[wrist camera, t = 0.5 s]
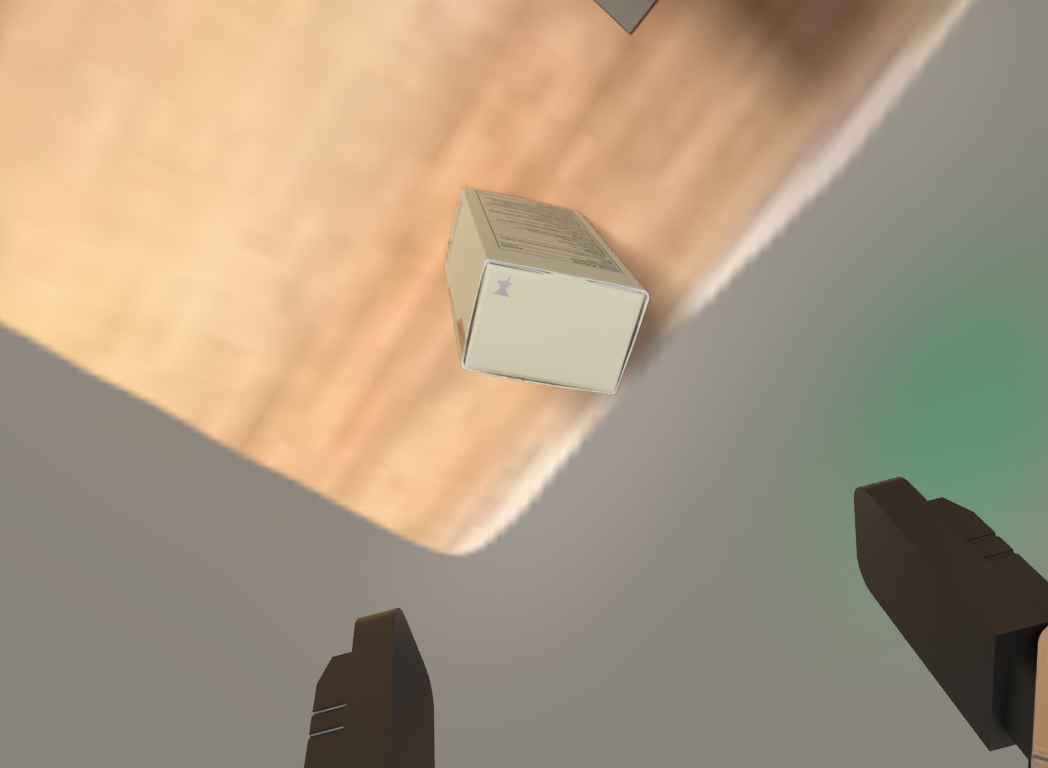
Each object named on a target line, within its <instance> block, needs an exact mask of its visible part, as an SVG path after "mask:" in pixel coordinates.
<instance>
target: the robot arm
mask: <svg viewBox="0 0 1048 768" xmlns="http://www.w3.org/2000/svg"><path fill="white" fill-rule="evenodd" d="M854 510H855V528H856V545H857V559H858V564H859V568H860V571H861V574H862V577H863V579H864V581H865V583H866V585H867V587H868V589H869V591H870V592H871V593H872V595H873V596H874V598H875V599H876V600H877V602H878V603H879V604H880V606H881V607H882V608H883V610H884V611H885V612H886V613H887V615H888V616H889V618H890V619H891V620H892V622H893V623H894V624H895V626H896V627H897V628H898V630H899V631H900V632H901V634H902V635H903V636H904V638H905V639H906V640H907V641H908V643H909V644H910V645H911V647H912V648H913V649H914V651H915V652H916V654H917V655H918V656H919V658H920V659H921V660H922V661H923V663H924V664H925V666H926V667H927V668H928V670H929V671H930V672H931V674H932V675H933V676H934V678H935V679H936V680H937V681H938V683H939V684H940V686H941V687H942V688H943V690H944V691H945V692H946V694H947V695H948V696H949V698H950V699H951V700H952V702H953V703H954V704H955V706H956V707H957V708H958V710H959V711H960V712H961V714H962V715H963V716H964V718H965V719H966V720H967V722H968V723H969V724H970V726H971V727H972V728H973V730H974V731H975V732H976V733H977V735H978V736H979V738H980V739H981V740H982V742H983V743H984V744H985V746H986V747H987V748H988V750H989V751H993V750H997V749H1000V748H1004V747H1008V746H1012V745H1015V744H1016V745H1017V746H1018V747H1019V749H1020V750H1021V751H1022V752H1023V754H1024V755H1025V756H1026V757H1027V759H1028V768H1048V582H1047V581H1046V580H1045V579H1044V578H1043V577H1042V576H1041V575H1040V574H1039V573H1038V572H1037V571H1036V570H1035V569H1033V568H1032V567H1031V566H1030V565H1029V564H1028V563H1027V562H1026V561H1025V560H1024V559H1023V558H1022V557H1021V556H1020V555H1019V554H1015V553H1014V552H1013V549H1012V548H1011V547H1010V546H1009V545H1008V544H1007V543H1006V542H1005V541H1004V540H1003V539H1001V538H1000V537H997V536H996V535H995V532H994V531H993V530H992V529H991V528H990V527H989V526H988V525H987V524H985V523H984V522H983V521H982V520H981V519H980V518H979V517H978V516H977V515H976V514H975V513H974V512H972V511H970V510H968V509H966V508H964V507H962V506H959V505H957V504H955V503H953V502H951V501H949V500H947V499H945V498H943V497H941V498H938V499H934V500H930V501H927V500H926V499H925V498H924V497H923V496H922V495H921V494H920V493H919V492H918V491H917V490H916V489H915V488H914V487H913V486H912V485H911V484H910V483H909V482H908V481H907V480H906V479H904V478H903V477H896V478H892V479H888V480H885V481H881V482H878V483H873V484H869V485H866V486H862V487H858V488H857V489H856V490H855V493H854ZM313 713H314V716H312V719H311V726H310V732H309V734H310V739H308V745H307V752H306V758H305V764H304V768H435V760H434V704H433V695H432V689H431V684H430V680H429V676H428V673H427V670H426V667H425V665H424V662H423V660H422V657H421V655H420V652H419V650H418V647H417V645H416V642H415V640H414V638H413V635H412V633H411V630H410V628H409V625H408V623H407V620H406V618H405V616H404V613H403V612H402V610H401V609H400V608H396V609H392V610H388V611H384V612H380V613H377V614H373V615H369V616H366V617H362V618H358V619H357V620H356V623H355V628H354V638H353V647H352V652H350V653H346V654H342V655H339V656H335V657H332V659H331V661H330V662H329V664H328V666H327V667H326V669H325V671H324V673H323V674H322V676H321V678H320V680H319V681H318V683H317V687H316V693H315V700H314V707H313Z"/></svg>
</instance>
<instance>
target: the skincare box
mask: <svg viewBox="0 0 1048 768" xmlns="http://www.w3.org/2000/svg"><path fill="white" fill-rule="evenodd" d="M445 272H446V280H447V286H448V292H449V298H450V304H451V311H452V317H453V323H454V329H455V335H456V341H457V347H458V353H459V358H460V364H461V367H462V368H463V369H465V370H468V371H473V372H477V373H481V374H486V375H490V376H495V377H500V378H506V379H510V380H517V381H522V382H529V383H534V384H541V385H547V386H554V387H560V388H567V389H574V390H582V391H588V392H597V393H604V394H611V395H612V394H615V393H616V392H617V389H618V386H619V383H620V380H621V378H622V375H623V373H624V370H625V368H626V365H627V362H628V359H629V357H630V354H631V352H632V349H633V346H634V343H635V340H636V337H637V334H638V332H639V329H640V326H641V323H642V320H643V317H644V314H645V311H646V308H647V305H648V302H649V299H650V295H649V293H648V292H647V290H646V289H645V288H644V287H643V286H642V285H641V283H640V282H639V281H638V280H637V279H636V278H635V276H634V275H633V274H632V273H631V272H630V271H629V270H628V268H627V267H626V266H625V265H624V263H623V262H622V261H621V260H620V259H619V258H618V256H617V255H616V254H615V253H614V252H613V250H612V249H611V248H610V247H609V246H608V244H607V243H606V242H605V241H604V240H603V239H602V238H601V236H600V235H599V234H598V233H597V232H596V230H595V229H594V228H593V227H592V226H591V225H590V223H589V222H588V221H587V220H586V219H585V218H584V216H583V215H582V214H581V213H580V212H578V211H574V210H571V209H567V208H563V207H559V206H555V205H551V204H546V203H542V202H538V201H534V200H529V199H524V198H520V197H515V196H511V195H506V194H501V193H496V192H491V191H485V190H480V189H474V188H469V187H463V188H462V189H461V193H460V196H459V200H458V204H457V208H456V213H455V217H454V221H453V225H452V230H451V234H450V239H449V244H448V249H447V255H446V261H445Z"/></svg>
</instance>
